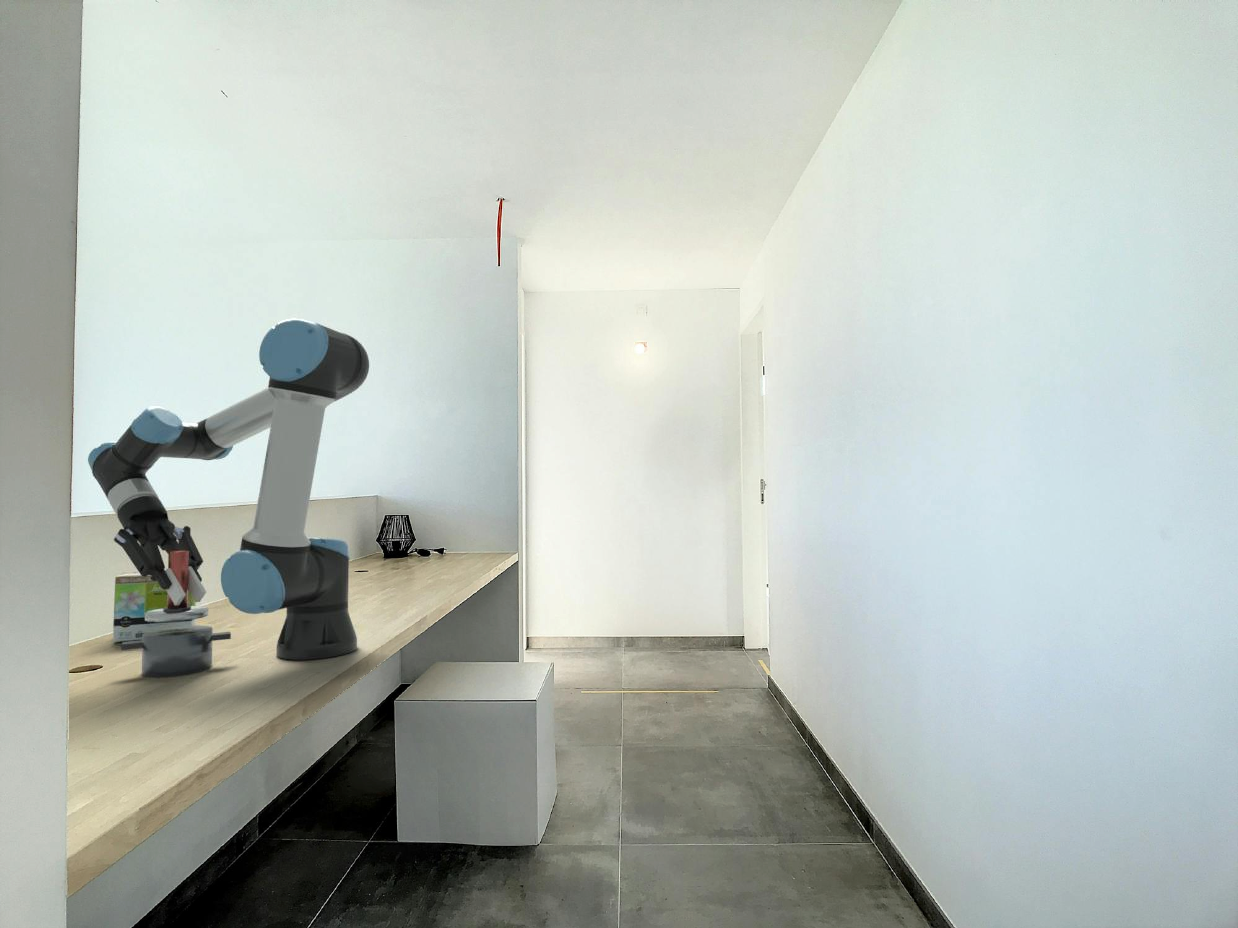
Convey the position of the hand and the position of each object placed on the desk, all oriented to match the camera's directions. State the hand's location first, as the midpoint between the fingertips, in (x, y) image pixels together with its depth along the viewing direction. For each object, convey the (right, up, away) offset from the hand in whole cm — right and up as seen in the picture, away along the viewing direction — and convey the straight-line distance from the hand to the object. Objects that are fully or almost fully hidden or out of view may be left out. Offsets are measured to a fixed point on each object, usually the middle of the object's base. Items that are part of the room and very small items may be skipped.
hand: (190, 598), depth 128 cm
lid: (-3, -4, +2) cm, 5 cm away
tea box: (-28, -15, +32) cm, 45 cm away
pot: (-3, -13, +1) cm, 14 cm away
